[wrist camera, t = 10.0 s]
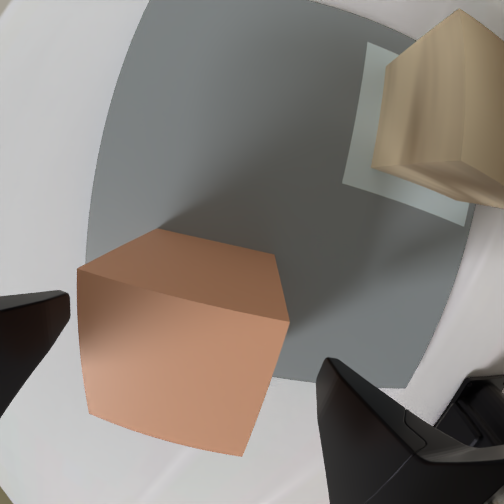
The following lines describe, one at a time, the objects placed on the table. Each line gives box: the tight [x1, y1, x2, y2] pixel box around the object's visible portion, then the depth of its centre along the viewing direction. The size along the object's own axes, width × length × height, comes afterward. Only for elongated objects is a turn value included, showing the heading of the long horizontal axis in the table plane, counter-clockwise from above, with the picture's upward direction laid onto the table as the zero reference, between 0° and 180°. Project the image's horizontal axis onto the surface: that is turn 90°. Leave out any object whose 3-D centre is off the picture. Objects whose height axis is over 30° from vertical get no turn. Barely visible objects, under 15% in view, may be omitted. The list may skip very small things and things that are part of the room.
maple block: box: [371, 9, 504, 209], centre depth 7 cm, size 5×5×6 cm
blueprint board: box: [85, 0, 475, 388], centre depth 12 cm, size 18×18×1 cm
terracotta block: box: [77, 228, 290, 457], centre depth 9 cm, size 5×5×6 cm
